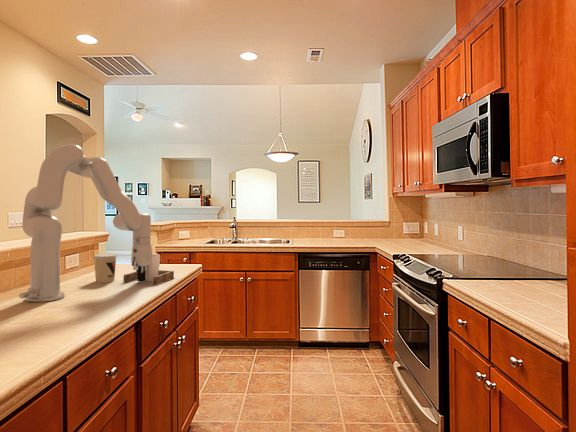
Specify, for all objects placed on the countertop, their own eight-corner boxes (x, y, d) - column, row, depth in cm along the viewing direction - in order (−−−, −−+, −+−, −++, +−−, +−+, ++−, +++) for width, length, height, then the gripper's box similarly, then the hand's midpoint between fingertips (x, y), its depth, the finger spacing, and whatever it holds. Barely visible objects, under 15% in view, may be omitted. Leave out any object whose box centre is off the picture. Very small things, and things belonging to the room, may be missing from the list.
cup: (138, 278, 189) (138, 253, 189) (158, 277, 194) (158, 253, 193) (141, 282, 181) (141, 256, 181) (161, 281, 186) (161, 255, 185)
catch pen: (155, 284, 177) (155, 277, 177) (123, 282, 181) (123, 274, 180) (173, 278, 193) (173, 271, 193) (143, 276, 196) (143, 269, 196)
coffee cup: (110, 283, 178) (110, 256, 178) (89, 282, 179) (89, 256, 178) (119, 279, 188) (119, 254, 187) (100, 278, 188) (100, 253, 187)
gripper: (139, 242, 171) (139, 285, 172) (158, 239, 186) (157, 278, 186) (124, 242, 173) (123, 283, 174) (143, 239, 187) (143, 277, 188)
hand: (141, 281), depth 180 cm, fingers closed
